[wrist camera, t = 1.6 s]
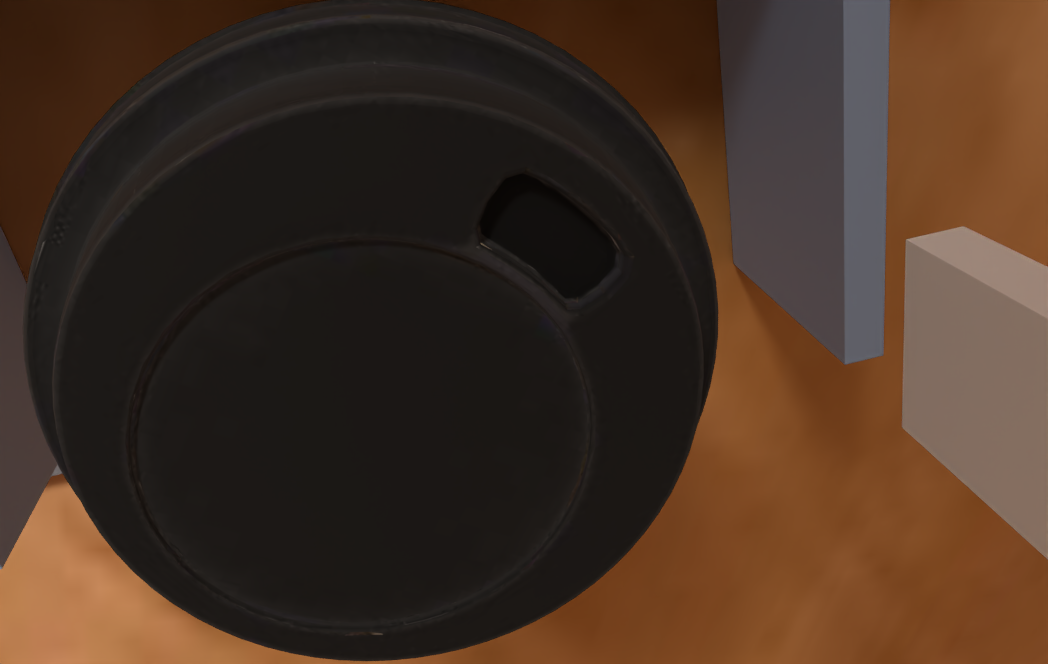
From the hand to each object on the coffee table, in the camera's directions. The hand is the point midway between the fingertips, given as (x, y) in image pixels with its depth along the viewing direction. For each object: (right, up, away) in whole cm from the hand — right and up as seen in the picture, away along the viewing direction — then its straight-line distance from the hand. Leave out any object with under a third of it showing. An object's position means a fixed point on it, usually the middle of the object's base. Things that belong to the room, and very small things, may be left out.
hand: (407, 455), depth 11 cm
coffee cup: (-3, +7, +14) cm, 16 cm away
